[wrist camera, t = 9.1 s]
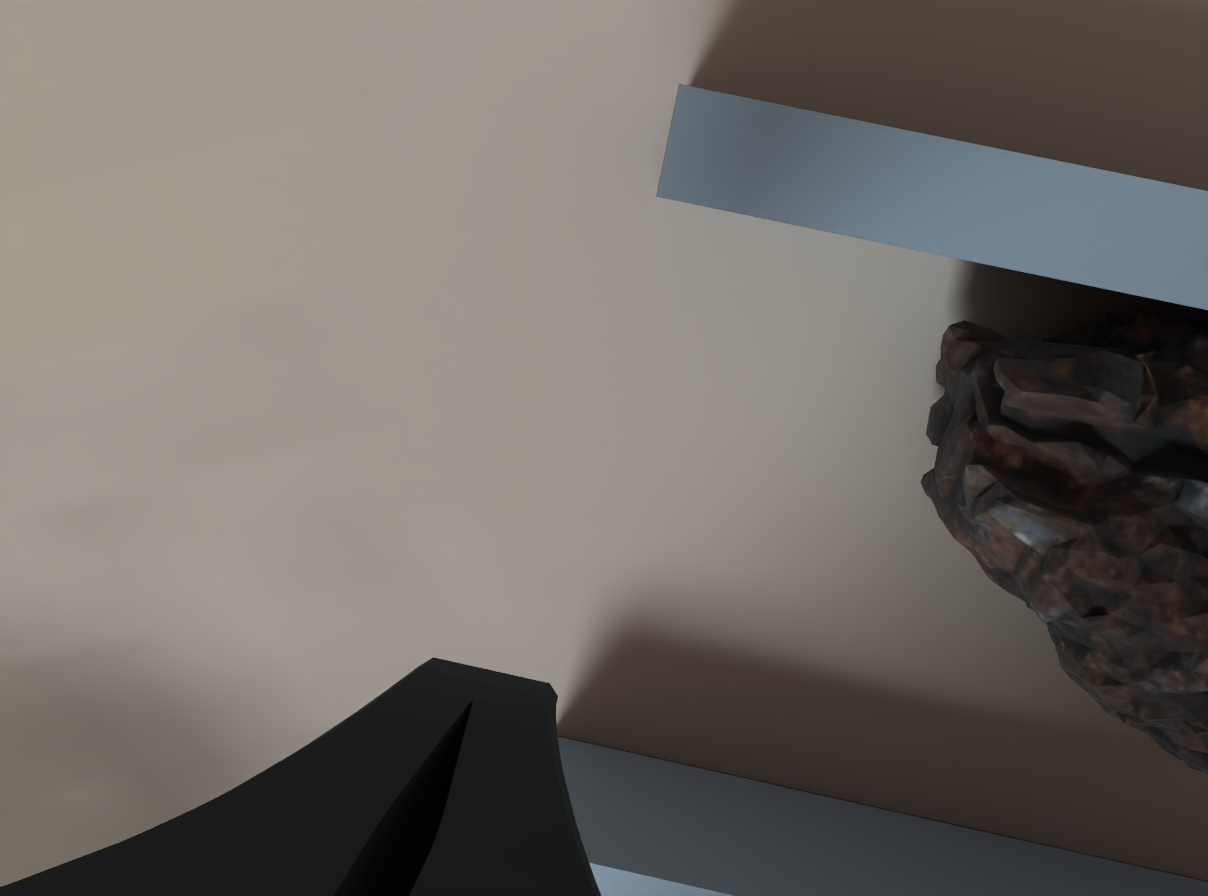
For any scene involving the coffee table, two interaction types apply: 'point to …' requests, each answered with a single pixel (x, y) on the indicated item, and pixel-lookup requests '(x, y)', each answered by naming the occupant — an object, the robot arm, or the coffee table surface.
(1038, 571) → the jagged brown rock
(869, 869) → the grey rectangular tray
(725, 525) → the coffee table surface
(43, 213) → the coffee table surface
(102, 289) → the coffee table surface
